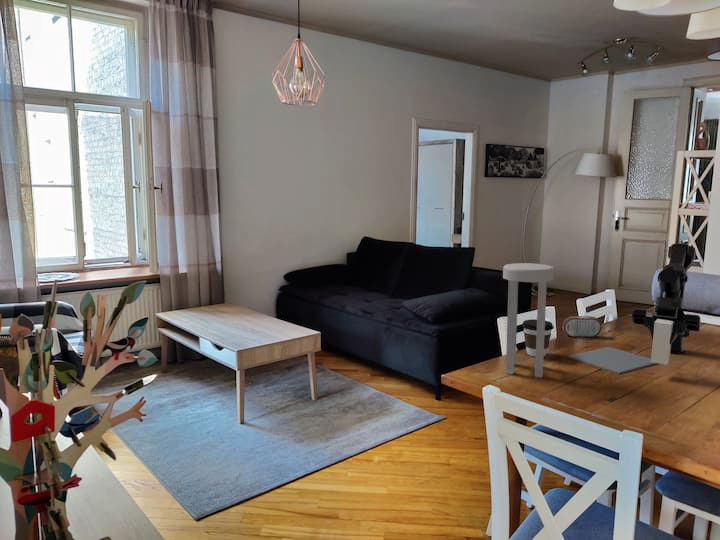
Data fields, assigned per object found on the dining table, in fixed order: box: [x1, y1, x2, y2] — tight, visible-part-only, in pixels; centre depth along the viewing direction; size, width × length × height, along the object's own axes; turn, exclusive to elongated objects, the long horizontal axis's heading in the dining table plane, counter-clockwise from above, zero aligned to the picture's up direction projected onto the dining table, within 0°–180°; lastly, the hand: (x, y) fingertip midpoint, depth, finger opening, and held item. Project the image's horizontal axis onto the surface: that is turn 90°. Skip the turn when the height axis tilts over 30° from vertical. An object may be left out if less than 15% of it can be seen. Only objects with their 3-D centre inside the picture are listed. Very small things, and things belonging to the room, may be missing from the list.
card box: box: [650, 319, 674, 366], centre depth 166 cm, size 5×4×13 cm
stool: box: [502, 262, 555, 378], centre depth 172 cm, size 16×16×35 cm
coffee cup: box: [521, 318, 554, 358], centre depth 190 cm, size 11×11×12 cm
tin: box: [561, 315, 603, 338], centre depth 213 cm, size 15×3×8 cm, turn 84°
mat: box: [567, 346, 659, 375], centre depth 184 cm, size 22×20×1 cm
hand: (661, 342), depth 164 cm, fingers closed on card box, 5 cm apart
